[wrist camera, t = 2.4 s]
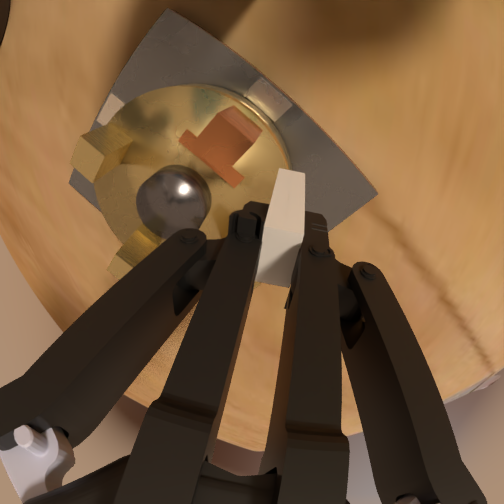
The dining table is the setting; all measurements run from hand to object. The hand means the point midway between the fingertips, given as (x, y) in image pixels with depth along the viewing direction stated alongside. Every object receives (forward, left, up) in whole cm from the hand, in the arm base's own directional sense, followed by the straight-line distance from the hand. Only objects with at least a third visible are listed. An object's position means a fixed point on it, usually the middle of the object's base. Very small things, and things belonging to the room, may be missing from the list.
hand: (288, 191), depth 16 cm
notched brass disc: (-5, -7, -5) cm, 9 cm away
